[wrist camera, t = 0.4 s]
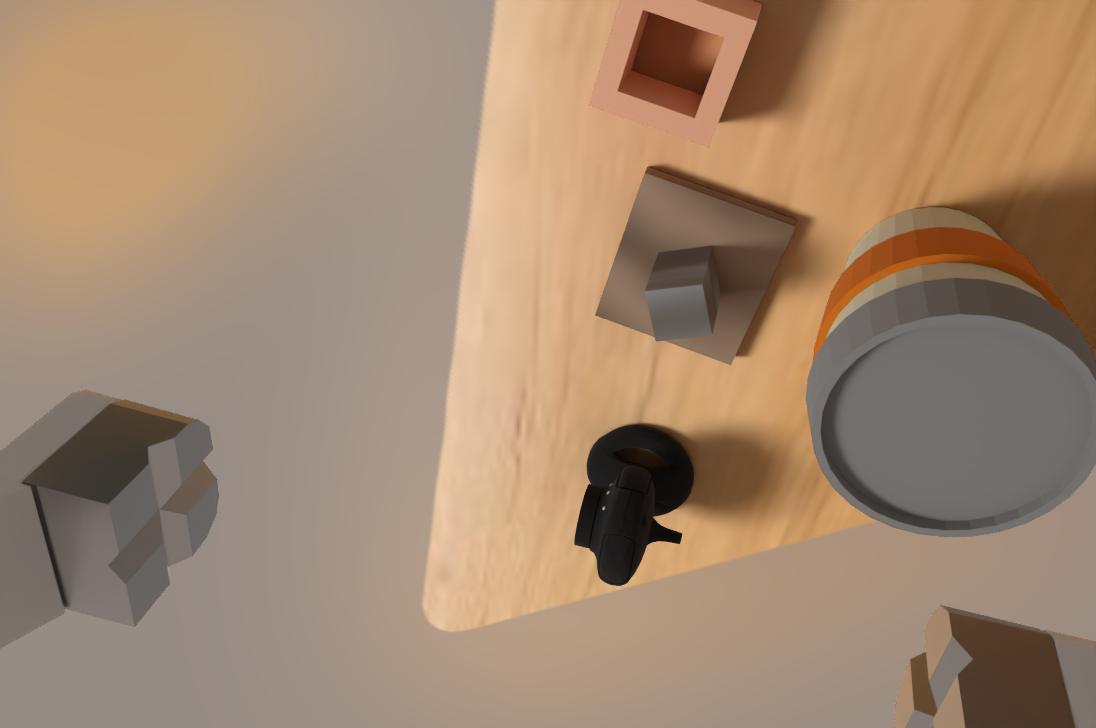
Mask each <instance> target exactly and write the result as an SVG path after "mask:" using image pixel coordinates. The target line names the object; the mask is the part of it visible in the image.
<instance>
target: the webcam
mask: <svg viewBox="0 0 1096 728" xmlns="http://www.w3.org/2000/svg"><path fill="white" fill-rule="evenodd" d="M630 447H637V448H644V449H648V450H651V451H653V452H655V453H657V454H658V455H660V456H661V457H663V458H664V459H665V460H666V461H667V462H668V464H669V465H668V466H667V467H664V468H656V467H648V466H643V465H639V464H635V463H632V462H629V461H626V460H623V459H621V458H620V457H618V456H617V455H616V453H617V451H619V450H621V449H624V448H630ZM587 474H588V479H589V481H590V483H591V484H589V485H588V487H587V489H586V492H585V495H584V499H583V502H582V506H581V510H580V514H579V518H578V523H577V528H576V534H575V543H574V544H575V545H577V546H582V547H586V548H590V550H591V551H592V552H594V554H595V556H596V559H597V569H598V574H599V577H600V579H601V580H602V581H604V582H605V583H607V584H610V585H616V586H621V585H624V584H626V583H628V581H629V580H630V578H631V577H632V576H633V575H634V573H635V572H636V570H637V568H638V566H639V564H640V562H641V560H642V557H643V555H644V552H645V549H646V547H647V545H648V544H650V543H652V542H656V541H666V542H672V543H677V544H680V542H681V538H682V533H679V532H676V531H673V530H670V529H667V528H665V527H663V526H661V525H660V524H658V523H657V521H656V520H655V519H654V518H653V517H655V516H660V515H663V514H666V513H669V512H671V511H673V510H675V509H677V508H678V507H679V506H680V505H681V504H682V503H683V502H684V501H685V500H686V499H687V498H688V496H689V494H690V493H691V489H692V486H693V481H694V471H693V467H692V463H691V461H690V458H689V456H688V455H687V453H686V451H685V450H684V449H683V448H682V446H681V445H680V444H679V443H678V442H676V441H675V440H674V439H673V438H671V437H670V436H668V435H666V434H665V433H663V432H660V431H658V430H655V429H652V428H647V427H640V426H628V427H621V428H617V429H615V430H613V431H611V432H609V433H607V434H606V435H604V436H602V437H601V438H599V439H598V440H597V442H596V443H595V444H594V445H593V447H592V449H591V450H590V453H589V457H588V461H587Z"/></svg>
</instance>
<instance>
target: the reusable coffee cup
mask: <svg viewBox="0 0 1096 728" xmlns="http://www.w3.org/2000/svg"><path fill="white" fill-rule="evenodd" d="M806 403H807V409H808V416H809V423H810V429H811V435H812V442H813V448H814V453H815V456H816V458H817V461H818V463H819V465H820V468H821V470H822V472H823V474H824V475H825V476H826V478H827V479H828V481H829V482H830V484H831V485H832V486H833V488H834V489H835V490H836V491H837V492H838V493H839V494H840V495H841V496H842V497H843V498H844V499H845V500H846V501H848V502H849V503H850V504H851V505H852V506H854V507H855V508H857V509H858V510H860V511H861V512H863V513H865V514H866V515H868V516H869V517H871V518H873V519H875V520H878V521H880V522H882V523H885V524H887V525H889V526H892V527H894V528H898V529H901V530H905V531H909V532H913V533H917V534H923V535H932V536H940V537H966V536H978V535H984V534H990V533H996V532H1001V531H1004V530H1007V529H1010V528H1013V527H1016V526H1019V525H1023V524H1026V523H1028V522H1029V521H1032V520H1034V519H1036V518H1038V517H1040V516H1041V515H1044V514H1046V513H1048V512H1050V511H1051V510H1052V509H1054V508H1055V507H1056V506H1058V505H1059V504H1061V503H1062V502H1063V501H1065V499H1067V498H1069V497H1070V496H1071V495H1072V494H1073V493H1074V492H1075V491H1076V490H1077V488H1078V487H1079V486H1080V485H1081V484H1082V483H1083V482H1084V481H1085V480H1086V479H1087V478H1088V476H1089V474H1090V473H1091V471H1092V469H1093V467H1094V466H1095V464H1096V361H1095V357H1094V353H1093V351H1092V350H1091V348H1090V346H1089V344H1088V342H1087V341H1086V339H1085V337H1084V335H1083V333H1082V332H1081V331H1080V330H1079V329H1078V327H1077V326H1076V325H1075V324H1074V323H1073V321H1072V320H1071V318H1070V316H1069V314H1068V312H1067V311H1066V309H1065V307H1064V305H1063V304H1062V302H1061V301H1060V299H1059V298H1058V297H1057V296H1056V294H1055V293H1054V292H1053V291H1052V289H1051V288H1050V287H1049V285H1048V284H1047V283H1046V282H1045V280H1044V279H1043V278H1042V277H1041V275H1040V274H1039V273H1038V272H1037V270H1036V269H1035V268H1034V267H1033V266H1032V265H1031V263H1030V262H1029V261H1028V260H1027V259H1026V258H1025V257H1024V256H1023V255H1022V254H1021V253H1020V252H1019V251H1017V250H1016V249H1014V248H1013V247H1011V246H1010V245H1008V244H1007V243H1005V242H1004V241H1002V239H1001V238H1000V237H999V236H998V235H997V234H996V232H995V231H994V230H993V229H992V228H991V227H990V226H989V225H987V224H986V223H984V222H983V221H981V220H980V219H978V218H977V217H975V216H972V215H970V214H968V213H965V212H963V211H959V210H954V209H950V208H942V207H925V208H918V209H911V210H908V211H905V212H901V213H898V214H895V215H893V216H891V217H889V218H887V219H885V220H883V221H881V222H880V223H878V224H877V225H876V226H874V227H873V228H872V229H870V230H869V231H868V232H867V233H866V234H865V235H864V236H863V237H862V238H861V239H860V240H859V242H858V243H857V244H856V246H855V247H854V249H853V251H852V252H851V254H850V256H849V258H848V261H847V264H846V267H845V270H844V272H843V273H842V274H841V276H840V278H839V279H838V281H837V283H836V284H835V286H834V288H833V289H832V291H831V294H830V297H829V300H828V303H827V306H826V309H825V312H824V316H823V319H822V323H821V326H820V329H819V333H818V336H817V340H816V343H815V347H814V357H813V364H812V367H811V370H810V373H809V376H808V382H807V392H806Z"/></svg>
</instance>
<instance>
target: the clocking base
mask: <svg viewBox="0 0 1096 728" xmlns="http://www.w3.org/2000/svg"><path fill="white" fill-rule="evenodd" d="M795 227H796V219H793V218H790V217H788V216H785V215H782V214H779V213H776V212H774V211H771V210H768V209H765V208H762V207H760V206H757V205H754V204H751V203H748V202H746V201H743V200H740V199H737V198H734V197H732V196H729V195H726V194H723V193H720V192H718V191H715V190H712V189H709V188H706V187H704V186H701V185H698V184H695V183H692V182H690V181H687V180H684V179H681V178H678V177H676V176H673V175H670V174H667V173H664V172H661V171H659V170H656V169H653V168H650V167H647V169H646V171H645V174H644V177H643V180H642V182H641V185H640V188H639V191H638V194H637V197H636V200H635V203H634V205H633V208H632V211H631V214H630V217H629V220H628V223H627V225H626V228H625V231H624V234H623V237H622V240H621V243H620V246H619V248H618V251H617V254H616V257H615V260H614V263H613V266H612V268H611V271H610V274H609V277H608V280H607V283H606V286H605V289H604V291H603V294H602V297H601V300H600V303H599V306H598V309H597V312H596V314H595V315H596V316H599V317H602V318H604V319H607V320H610V321H613V322H615V323H618V324H621V325H623V326H626V327H629V328H632V329H634V330H637V331H640V332H642V333H645V334H648V335H651V336H653V337H655V339H656V341H667V342H670V343H672V344H675V345H678V346H680V347H683V348H686V349H689V350H691V351H694V352H697V353H699V354H702V355H705V356H708V357H710V358H713V359H716V360H718V361H721V362H724V363H727V364H729V365H731V364H732V361H733V359H734V357H735V355H736V353H737V351H738V349H739V347H740V344H741V342H742V340H743V338H744V336H745V334H746V332H747V330H748V327H749V325H750V323H751V321H752V319H753V317H754V315H755V312H756V310H757V308H758V306H759V304H760V302H761V300H762V298H763V295H764V293H765V291H766V289H767V287H768V285H769V283H770V281H771V278H772V276H773V274H774V272H775V270H776V268H777V266H778V263H779V261H780V259H781V257H782V255H783V253H784V251H785V249H786V246H787V244H788V242H789V240H790V238H791V236H792V234H793V231H794V229H795Z"/></svg>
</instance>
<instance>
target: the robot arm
mask: <svg viewBox="0 0 1096 728" xmlns="http://www.w3.org/2000/svg"><path fill="white" fill-rule="evenodd" d="M212 450H213V445H212V440H211V434H210V429H209V426H208V425H206V424H205V423H203V422H201V421H200V420H197V419H193V418H190V417H186V416H182V415H179V414H176V413H172V412H168V411H165V410H161V409H158V408H154V407H150V406H147V405H143V404H139V403H136V402H132V401H129V400H120V399H117V398H114V397H110V396H107V395H103V394H100V393H96V392H93V391H90V390H83V391H78V392H74V393H71V394H70V395H69V396H68V397H66V398H65V399H64V400H63V401H62V402H60V403H59V404H58V405H57V406H55V407H54V408H53V409H52V410H50V411H49V412H48V413H47V414H46V415H44V416H43V417H42V418H41V419H39V420H38V421H37V422H36V423H34V424H33V425H32V426H31V427H30V428H28V429H27V430H26V431H25V432H23V433H22V434H21V435H20V436H19V437H17V438H16V439H15V440H14V441H12V442H11V443H10V444H9V445H8V446H7V447H5V448H4V449H3V450H1V451H0V648H2V647H4V646H6V645H8V644H10V643H11V642H13V641H15V640H17V639H19V638H20V637H22V636H24V635H26V634H28V633H30V632H31V631H33V630H35V629H37V628H39V627H41V626H42V625H44V624H46V623H48V622H50V621H51V620H53V619H55V618H57V617H59V616H61V615H62V614H64V613H65V610H64V609H68V610H72V611H76V612H80V613H83V614H87V615H91V616H95V617H99V618H102V619H106V620H110V621H114V622H118V623H122V624H126V625H129V626H133V627H135V626H136V625H137V623H138V622H139V621H140V620H141V619H142V617H143V616H144V615H145V614H146V612H147V611H148V610H149V609H150V608H151V606H152V605H153V604H154V603H155V601H156V600H157V599H158V598H159V597H160V595H161V594H162V593H163V592H164V590H165V589H166V588H167V587H168V586H169V584H170V576H169V566H171V565H173V564H176V563H178V562H180V561H182V560H185V559H187V558H189V557H191V556H193V555H194V553H195V552H196V551H197V549H198V548H199V547H200V546H201V544H202V543H203V542H204V540H205V539H206V538H207V535H208V533H209V531H210V528H211V526H212V524H213V521H214V519H215V516H216V513H217V505H218V498H219V494H218V484H217V478H216V477H215V476H214V475H213V474H212V472H211V471H210V469H209V468H208V467H207V466H206V464H205V463H204V462H203V460H204V459H205V458H206V457H207V456H208V454H209V453H210V452H211V451H212ZM924 636H925V646H926V652H924V653H922V654H920V655H918V656H916V657H914V658H912V659H910V661H909V663H908V665H907V667H906V670H905V672H904V674H903V677H902V679H901V682H900V686H899V691H898V695H897V700H896V704H895V715H894V728H1096V642H1095V641H1091V640H1086V639H1082V638H1078V637H1074V636H1069V635H1065V634H1061V633H1057V632H1052V631H1048V630H1043V631H1042V630H1040V629H1037V628H1033V627H1029V626H1025V625H1021V624H1017V623H1012V622H1008V621H1004V620H1000V619H996V618H992V617H988V616H984V615H979V614H975V613H971V612H967V611H963V610H959V609H954V608H951V607H946V606H942V605H940V606H939V607H938V608H937V609H936V610H935V611H934V613H932V615H931V617H930V619H929V621H928V623H927V625H926V627H925V629H924Z"/></svg>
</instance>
